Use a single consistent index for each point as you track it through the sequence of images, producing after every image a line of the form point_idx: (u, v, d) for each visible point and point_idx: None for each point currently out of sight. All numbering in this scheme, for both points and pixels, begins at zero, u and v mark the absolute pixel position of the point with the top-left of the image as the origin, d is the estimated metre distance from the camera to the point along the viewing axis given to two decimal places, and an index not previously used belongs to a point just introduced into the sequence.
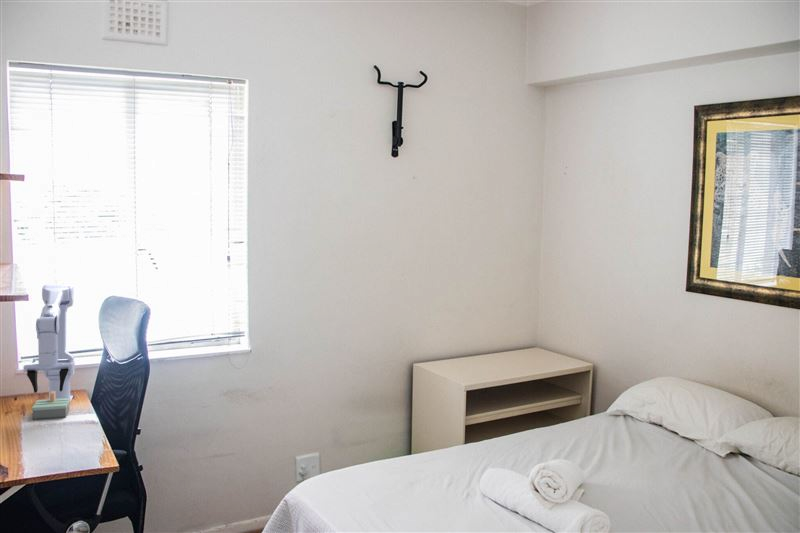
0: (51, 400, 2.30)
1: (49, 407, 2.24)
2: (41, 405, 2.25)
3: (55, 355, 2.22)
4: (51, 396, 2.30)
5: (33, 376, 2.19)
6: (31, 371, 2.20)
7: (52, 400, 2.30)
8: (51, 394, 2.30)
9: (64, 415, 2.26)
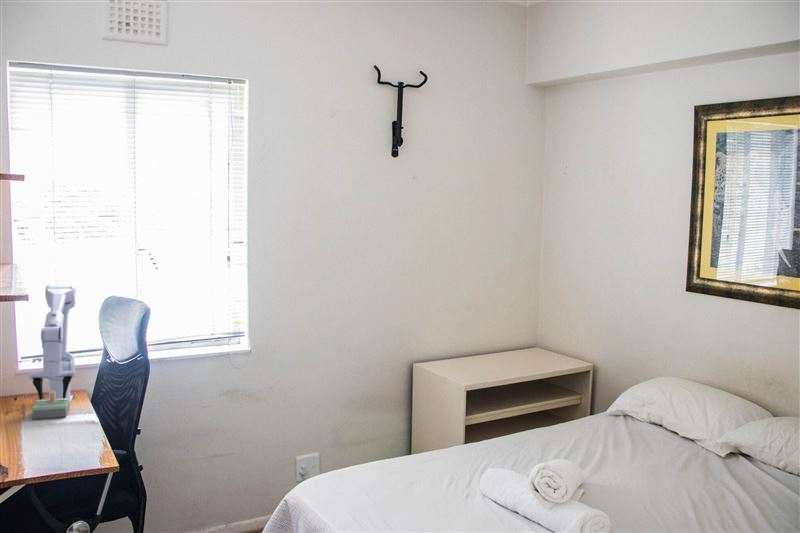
0: (51, 400, 2.30)
1: (49, 407, 2.24)
2: (41, 405, 2.25)
3: (59, 363, 2.31)
4: (51, 396, 2.30)
5: (39, 384, 2.28)
6: (37, 379, 2.29)
7: (52, 400, 2.30)
8: (51, 394, 2.30)
9: (64, 415, 2.26)
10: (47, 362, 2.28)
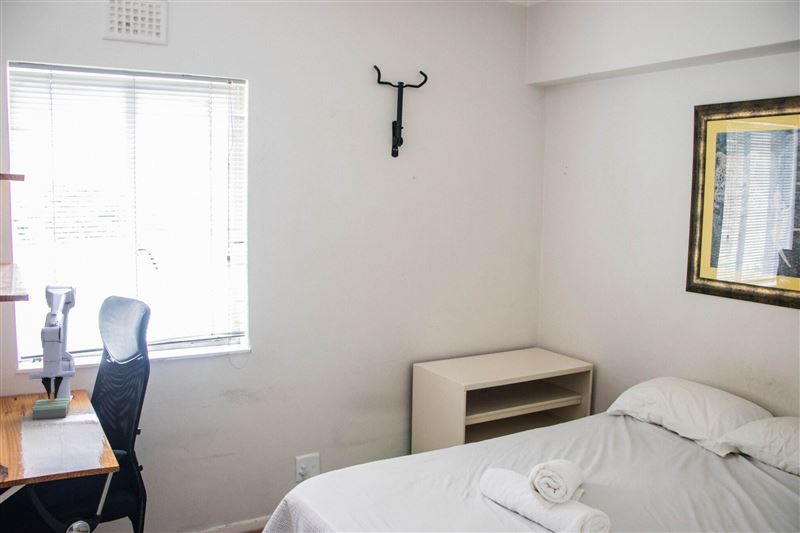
0: (51, 400, 2.30)
1: (49, 407, 2.24)
2: (41, 405, 2.25)
3: (59, 363, 2.31)
4: (51, 396, 2.30)
5: (47, 383, 2.29)
6: (45, 378, 2.30)
7: (52, 400, 2.30)
8: (51, 394, 2.30)
9: (64, 415, 2.26)
10: (47, 362, 2.28)
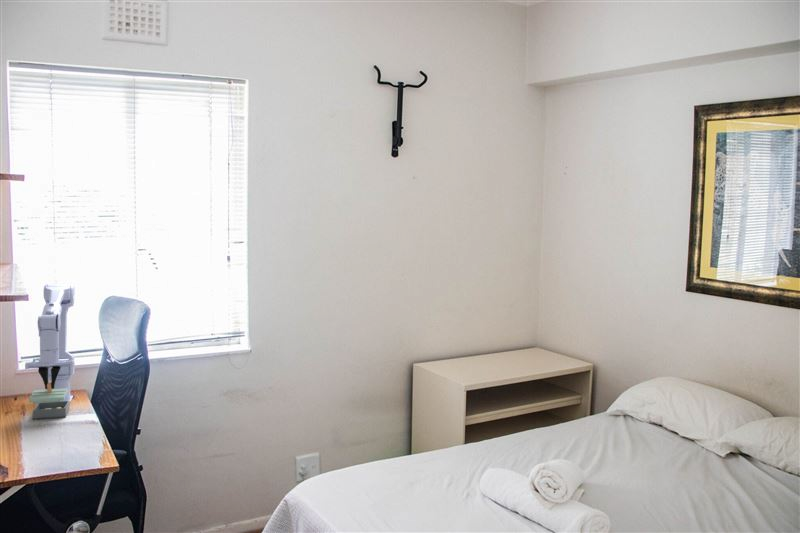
0: (48, 391, 2.24)
1: (46, 399, 2.19)
2: (38, 396, 2.20)
3: (56, 352, 2.25)
4: (48, 387, 2.24)
5: (44, 373, 2.23)
6: (42, 368, 2.24)
7: (49, 391, 2.24)
8: (48, 385, 2.24)
9: (64, 415, 2.26)
10: (44, 351, 2.22)
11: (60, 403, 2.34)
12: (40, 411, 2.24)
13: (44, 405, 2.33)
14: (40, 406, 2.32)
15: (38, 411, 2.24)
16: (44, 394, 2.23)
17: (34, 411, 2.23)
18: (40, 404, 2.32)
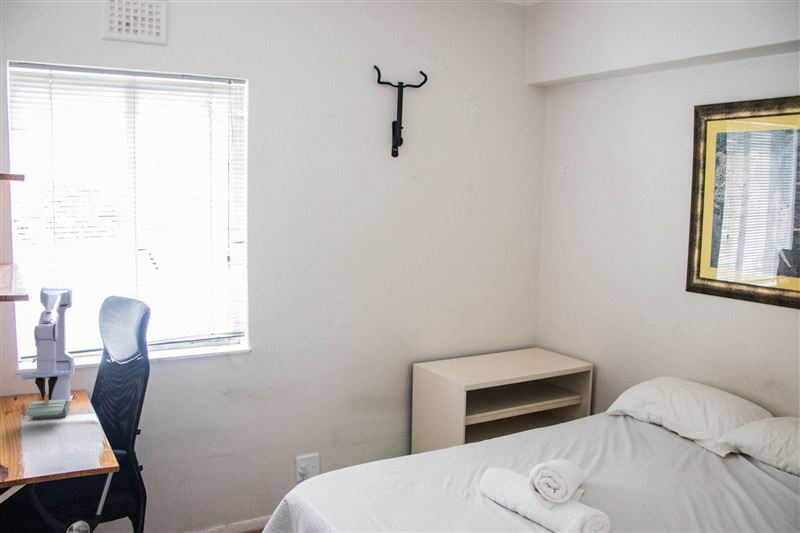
0: (45, 403, 2.19)
1: (43, 412, 2.14)
2: (35, 409, 2.14)
3: (54, 363, 2.19)
4: (45, 399, 2.19)
5: (41, 384, 2.17)
6: (39, 379, 2.18)
7: (46, 403, 2.19)
8: (45, 397, 2.19)
9: (64, 415, 2.26)
10: (41, 361, 2.17)
11: None
12: None
13: None
14: None
15: None
16: (41, 406, 2.17)
17: None
18: None
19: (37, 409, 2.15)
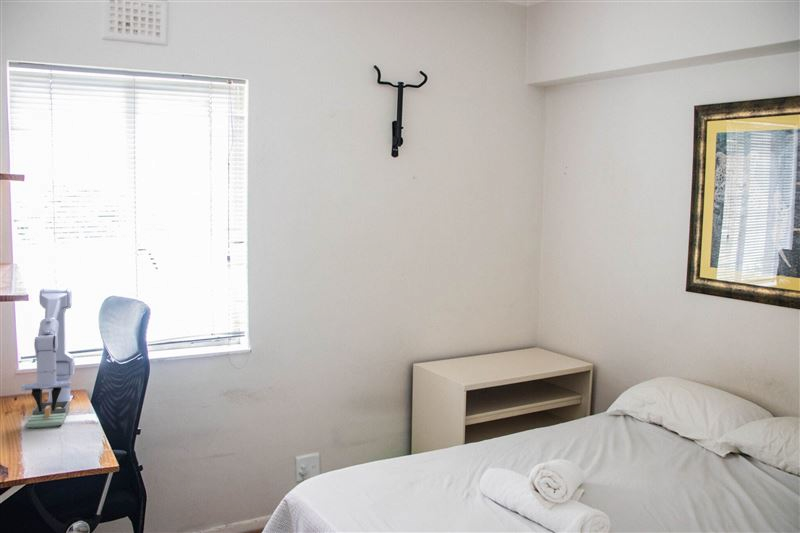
0: (46, 415, 2.20)
1: (44, 423, 2.14)
2: (35, 421, 2.15)
3: (54, 374, 2.19)
4: (46, 411, 2.20)
5: (38, 395, 2.17)
6: (36, 390, 2.18)
7: (47, 415, 2.20)
8: (46, 409, 2.20)
9: None
10: (41, 373, 2.17)
11: (60, 403, 2.34)
12: None
13: (44, 405, 2.33)
14: None
15: (38, 411, 2.24)
16: (42, 419, 2.18)
17: (34, 411, 2.23)
18: None
19: (37, 421, 2.16)
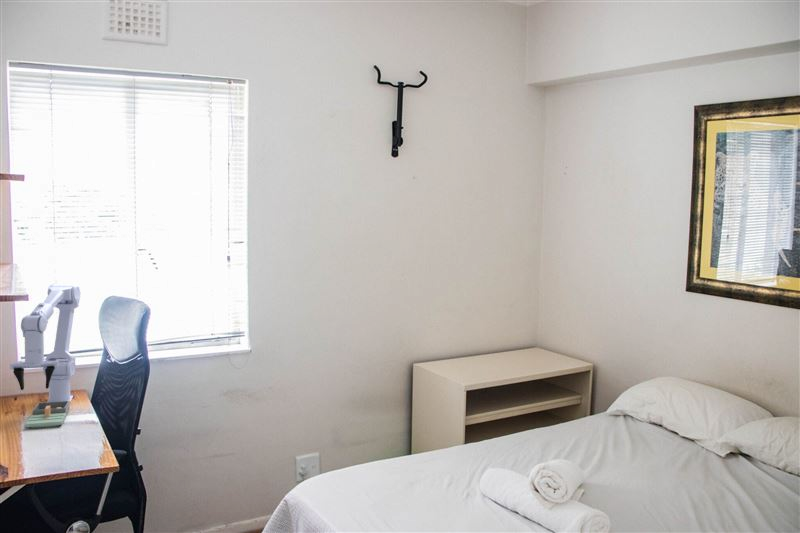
0: (46, 415, 2.20)
1: (44, 423, 2.14)
2: (35, 421, 2.15)
3: (41, 353, 2.27)
4: (46, 411, 2.20)
5: (19, 374, 2.24)
6: (17, 369, 2.25)
7: (47, 415, 2.20)
8: (46, 409, 2.20)
9: None
10: (29, 352, 2.24)
11: (60, 403, 2.34)
12: (40, 411, 2.24)
13: (44, 405, 2.33)
14: (40, 406, 2.32)
15: (38, 411, 2.24)
16: (42, 419, 2.18)
17: (34, 411, 2.23)
18: (40, 404, 2.32)
19: (37, 421, 2.16)
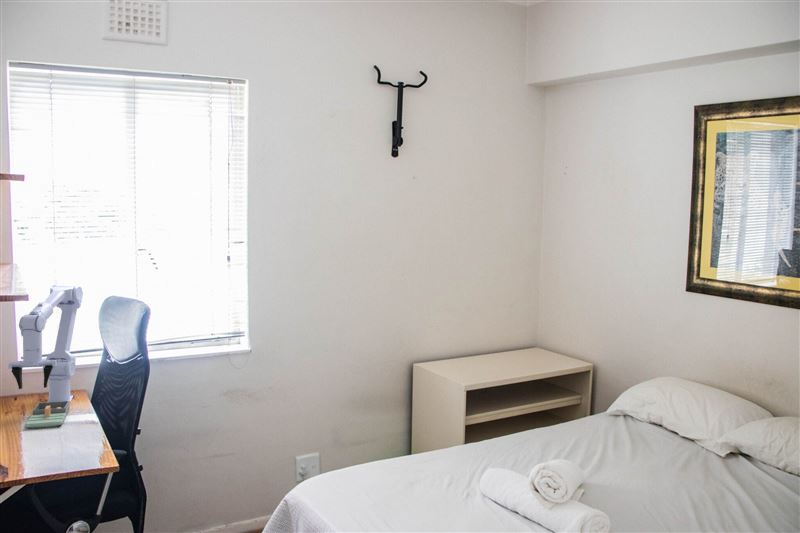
0: (46, 415, 2.20)
1: (44, 423, 2.14)
2: (35, 421, 2.15)
3: (39, 352, 2.27)
4: (46, 411, 2.20)
5: (18, 373, 2.25)
6: (16, 368, 2.26)
7: (47, 415, 2.20)
8: (46, 409, 2.20)
9: None
10: (27, 351, 2.25)
11: (60, 403, 2.34)
12: (40, 411, 2.24)
13: (44, 405, 2.33)
14: (40, 406, 2.32)
15: (38, 411, 2.24)
16: (42, 419, 2.18)
17: (34, 411, 2.23)
18: (40, 404, 2.32)
19: (37, 421, 2.16)
